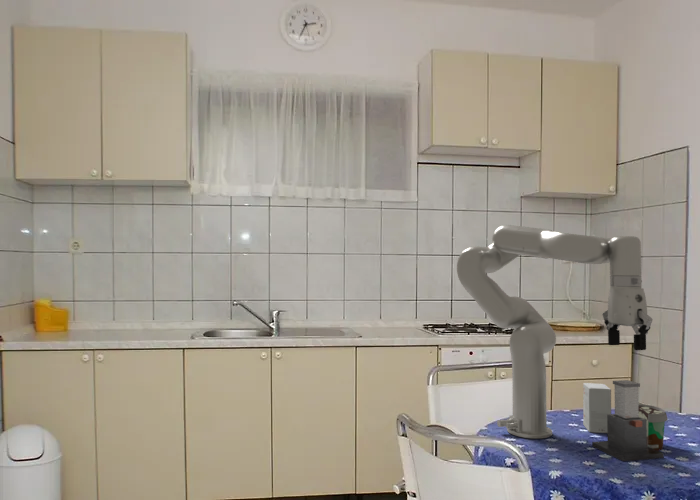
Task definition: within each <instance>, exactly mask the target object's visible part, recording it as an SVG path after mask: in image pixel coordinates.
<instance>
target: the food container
mask: <svg viewBox="0 0 700 500" xmlns="http://www.w3.org/2000/svg"><path fill="white" fill-rule="evenodd" d="M638 413H639V417H641V418H644V419H646V421H647V446H648V447H650V448H653V449H655V450H657V451H662V450H663V449H664V438H665V424H666V422H667V421H668V420H669V419H668V413H666V410H665V409H663V407H662V408H661V407H659V406H655V405H649V404H644V403H643V404H642V403H638Z"/></svg>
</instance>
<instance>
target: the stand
mask: <svg viewBox="0 0 700 500" xmlns="http://www.w3.org/2000/svg"><path fill="white" fill-rule="evenodd" d="M606 434H607V440H602V441H592V443H591V445H592V447H593V448H595V449H597V450H599V451H601V452H603V453H605V454H607V455H609V456H611V457H613V458H616V459H618V460H619V461H621V462H632V461H645V460H654V459H655V460H656V459H664V457H665V453H664V452H662V451H661V450H659V451H657V450H655V449H653V448H650V447H648V446H647V421H646V419H644V418H641V417H639V419H632V420H624V419H621V418H619V417H616V416H615V413H611V414H607V433H606Z"/></svg>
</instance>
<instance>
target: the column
mask: <svg viewBox="0 0 700 500" xmlns="http://www.w3.org/2000/svg"><path fill="white" fill-rule="evenodd" d="M612 384H613V385H614V414H615V416H616V417H619V418H621V419H624V420H632V419H639V413H638V404H639V388H640V386H641V383H639V382H635V381H632V380H628V379H627V380H626V379H624V380H623V379H622V380H612Z"/></svg>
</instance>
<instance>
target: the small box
mask: <svg viewBox="0 0 700 500" xmlns="http://www.w3.org/2000/svg"><path fill="white" fill-rule="evenodd" d="M582 384H583V385H582V388H583V389H582V390H583V393H582V394H583V395H582V399H583V402H582V403H583V405H582V406H583V411H582V412H583V413H582V415H583V417H582V419H583V421H582V424H583V426H584V427H585V429H586V430H587V431H588V432H589V433H597V434H599V433H600V434H608V433H607V414H612V389H611V388H610V387H609V386H607V385H606V384H605V383H596V382H594V383H593V382H591V383H590V382H583V383H582Z"/></svg>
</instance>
